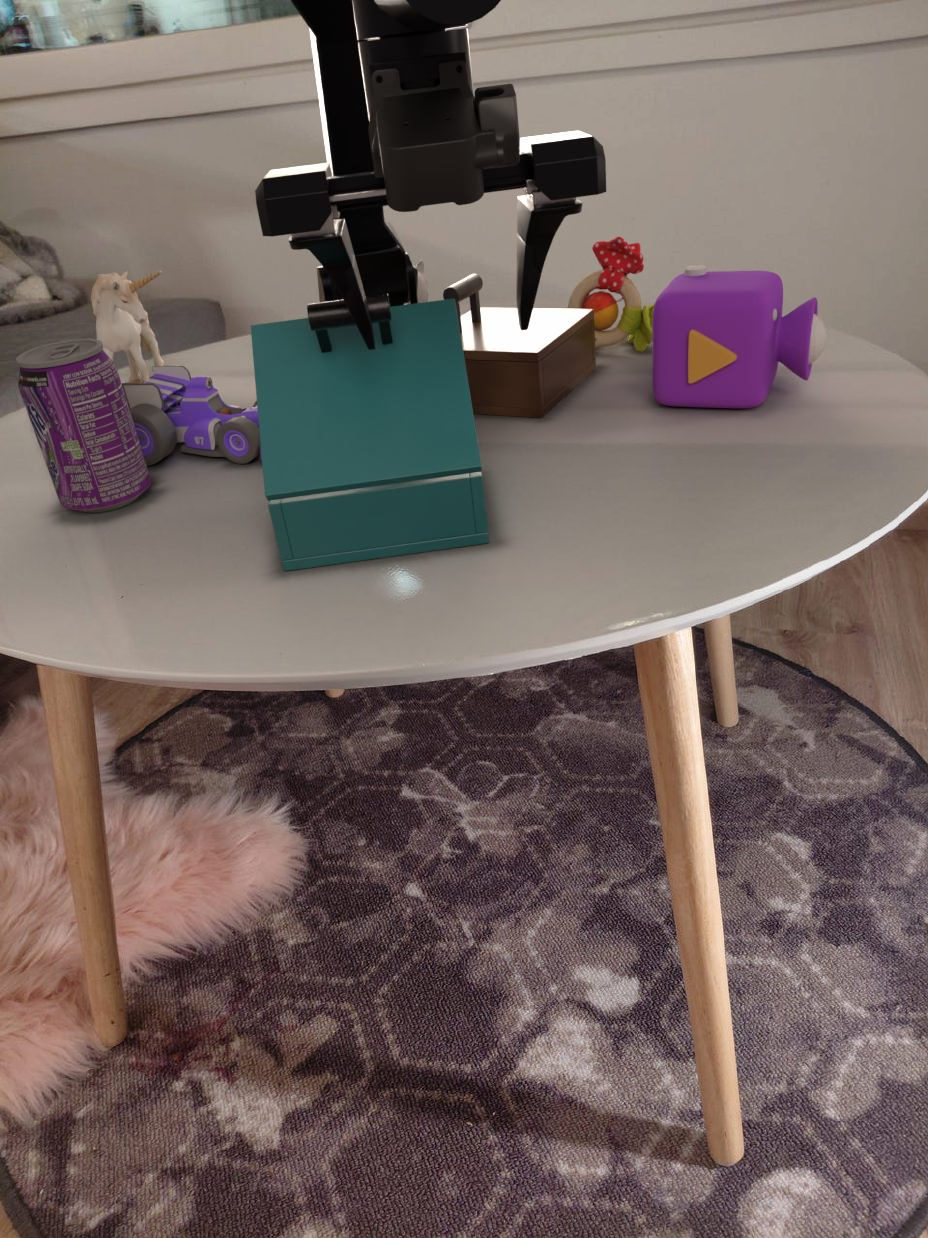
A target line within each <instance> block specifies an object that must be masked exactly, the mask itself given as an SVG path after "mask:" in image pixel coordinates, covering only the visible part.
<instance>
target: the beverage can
mask: <svg viewBox="0 0 928 1238" xmlns="http://www.w3.org/2000/svg"><path fill="white" fill-rule="evenodd" d="M103 348H104V347H103V343H102V342H101V341H100V340H97V338H77V339H76V338H75V339H69V340H68V339H67V340H62V341H57V342H52V343H47V344H43V345H39V346H37V347H34V348H31V349H29V350H26V351H24V352H22V353H21V354H18V355H17V356H16V358H15V363H16V364H17V366H18V367H19V372H18V373H19V374H18V379H17V387H18V390H19V393H20V395H21V399H22V401H23V404H24V407H25V409H26V413H27V415H28V418H29V421H30V423H31V427H32V429H33V432H34V434H35V438H36V440H37V443H38V446H39V449H40V451H41V455H42V456H43V459H44V463H45V465H46V468H47V470H48V471H47V472H48V473H49V476H50V480H51V481H52V485H53V488H54V490H55V493H56V495H57V499H58V501H59V504H60V505H61V506H62V507H63V508H66V509H67V510H68V509H69V510H72V511H73V510H74V511H80V512H83V513H89V514H91V513H92V514H96V513H105V512H109V511H113V510H116V509H119V508H123V507H125V506H127V505H129V504H131V503H133V502H134V501H135V500H137V499H138V498H139V497H140V495H142V494H143V493H144V492H145V491H147V490H148V489H149V488H150V486H151V485H152V479H151V475H150V472H149V469H148V466H147V465H146V462H145V459H144V456H143V452H142V449H141V446H140V443H139V439H138V436H137V433H136V429H135V426H134V423H133V420H132V416H131V413H130V410H129V406H128V403H127V400H126V397H125V393H124V390H123V387H122V384H121V383H122V380H121V378H120V375H119V371H118V368H117V365H116V363H115V362H114V360H113V361H112V360H111V359H110V357H109V356H108V355H107V354H106V353H105V352H104V350H103Z"/></svg>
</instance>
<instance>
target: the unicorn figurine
mask: <svg viewBox="0 0 928 1238" xmlns="http://www.w3.org/2000/svg"><path fill="white" fill-rule="evenodd" d="M162 273H163V270H161V269H160V270H157V271H154V272H153V273H150V274H149V275H148V274H147V275H146V276H144V277H142V278H140V279H138V280H137V281H134V282H132V280H130V279H127V278H128V274H129V270H127V271H125V272H124V273H122V275H120V274H118V273H117V272H116V271H115V272H109V273H106V274H105V273H99V274H98V275H97V279H96V281H95V282H94V284H93V287H92V288H91V293H90V302H91V306H92V308H93V309H92V313H93V315H94V316H95V317H96V318H95V319H96V321H95V333H96V340H100V341H101V342H102V343H103V347H104V348H103V350H104V352H105V353H106V354H107V355H108V356H109V357H110V359H111V360H112V361H113V362H114V354H115V353H119V352H124V353H125V355H126V358H127V360H128V368H129V371H130V375H129V383H143V382H145V381H147V380H148V379H149V377H150V375H149V372H148V369H147V363H146V361H145V359H144V358H143V354H142V348H143V349H144V350H146V352H147V353H148V354H149V355H152V358H153V366H165V362H164V360H163V358H162V356H161V351H160V348H159V344H158V341H157V340H156V339H157V336H156V334H155V333H154V331H153V330H152V328H151V327H150V321H149V316H148V315H149V314H148V312H147V311H146V310H145V309H144V306H143V304H142V302H141V300H139V295H138V293H137V291H139V290H141V288H144V286H146V285H147V284H149V283H150V282H151V281H153V280H155V279H156V278H158V277H159V276H160V275H161V274H162ZM141 347H142V348H141ZM140 373H141V375H142V377H141V375H140ZM142 379H143V380H142Z"/></svg>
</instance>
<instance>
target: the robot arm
mask: <svg viewBox="0 0 928 1238" xmlns="http://www.w3.org/2000/svg"><path fill="white" fill-rule="evenodd" d="M501 1H502V0H290V2H291V3H292V6H293V7H294V8H295V9H296V11H297V12H298V13H299V15H300V17H301V18H302V20H303V21H304V23H305V24H306V25H307V28H308V29H309V39H310V45H311V53H312V59H313V68H314V74H315V82H316V90H317V99H318V104H319V105H318V106H319V113H320V120H321V128H322V136H323V142H324V143H323V144H324V150H325V158H326V159H325V160H326V162H322V163H321V162H320V163H314V164H307V165H305V164H304V165H299V166H291V167H283V168H274V169H270V170H269V171H268V173H267V174H266V175H265V176H264V177H263V178H262V179H261V181H260V182H259V184H258V185H257V187H256V189H255V190H254V194H255V204H256V209H257V214H258V220H259V224H260V229H261V234H262V237H279V236H280V237H281V236H287V235H290V237H289V238H288V243H289V246H290V249H291V250H294V251H301V250H307V251H309V252H310V253H311V254H312V255H313V256H314V257H315V258H316V260H317V261H318V262H319V264H321V265H320V266H317V267H316V275H317V285H318V286H317V288H318V300H319V301H318V302H319V303H321V302H329V301H336V300H344V302H345V304H346V306H347V308H348V310H349V312H350V314H351V316H352V318H353V320H354V322H355V324H356V326H357V328H358V330H359V332H360V334H361V336H362V338H363V340H364V342H365V344H366V346H367V348H368V349H369V350H375V339H374V332H373V325H372V319H371V315H370V311H369V307H368V304H367V300H366V296H374V295H381V294H388V298H389V304H390V307H393V306H401V305H408V304H416V303H418V297H417V292H418V270H417V268H416V267H415V266H416V265H413V262H412V260H411V257H410V255H409V253H408V252H406V251H405V248H404V246H403V244H402V242H401V240H400V238H399V236H398V234H397V231H396V229H395V227H394V226H393V224H392V223H391V222H390V221H389V219H388V218H387V217H386V216H385V212H384V207H387V206H388V207H389V208H390V209H391V210H393V211H395V212H399V213H410V212H417V211H418V210H420V208H421V207H426V206H434V205H441V204H448V203H454V204H455V205H456V206H465V205H471V204H474V203H476V202H478V201H480V200H481V199H482V198H483V197H484V195H485V194H487V193H488V194H489V193H495V192H496V193H497V192H503V191H504V192H505V191H512V190H520V189H522V191H523V192H524V193H525V195H518V196H517V197H516V198H517V200H516V201H517V202H516V203H517V204H516V205H517V209H516V210H517V211H516V295H515V296H516V308H517V310H518V319H519V326H520V329H521V330H527V329H528V327H529V323H530V318H531V314H532V310H533V308H534V306H535V302H536V298H537V293H538V290H539V285H540V281H541V277H542V273H543V270H544V266H545V264H546V263H545V262H546V260H547V257H548V255H549V254H548V253H549V251H550V248H551V246H552V243H553V240H554V238H555V236H556V234H557V232H558V230H559V229H560V227H561V225H562V223H563V221H564V220H565V218H567V216H568V217H569V216H572V215H577V214H580V213H581V212H582V210H583V201H581V200H579V199H578V198H582V197H583V198H584V197H589V196H597V195H601V194H605V193H607V166H606V165H607V163H606V154H605V149H604V145H603V144H601V142H600V141H598V139H597V138H595V137H594V135H591V134H588V133H587V132H586V133H585V132H583V131H581V130H571V131H564V132H563V131H562V132H555V133H548V134H541V135H533V136H531V135H530V136H523V137H520V125H519V124H520V123H519V114H518V113H519V112H518V101H517V92H516V91H515V87H514V84H513V83H505V84H504V83H503V84H496V85H489V86H488V85H487V86H481V87H477V88H476V89H474V84H473V73H472V61H471V50H470V39H469V28H467V27H468V24H470V23H471V24H472V23H473V22H476V21H478V20H480V19H483V18H484V17H485V16H487V15H488V14H489V13H491V12H492V11H493V10H494V9H496V7H497V6H498V5H499V3H500V2H501ZM465 27H466V28H465Z"/></svg>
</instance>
